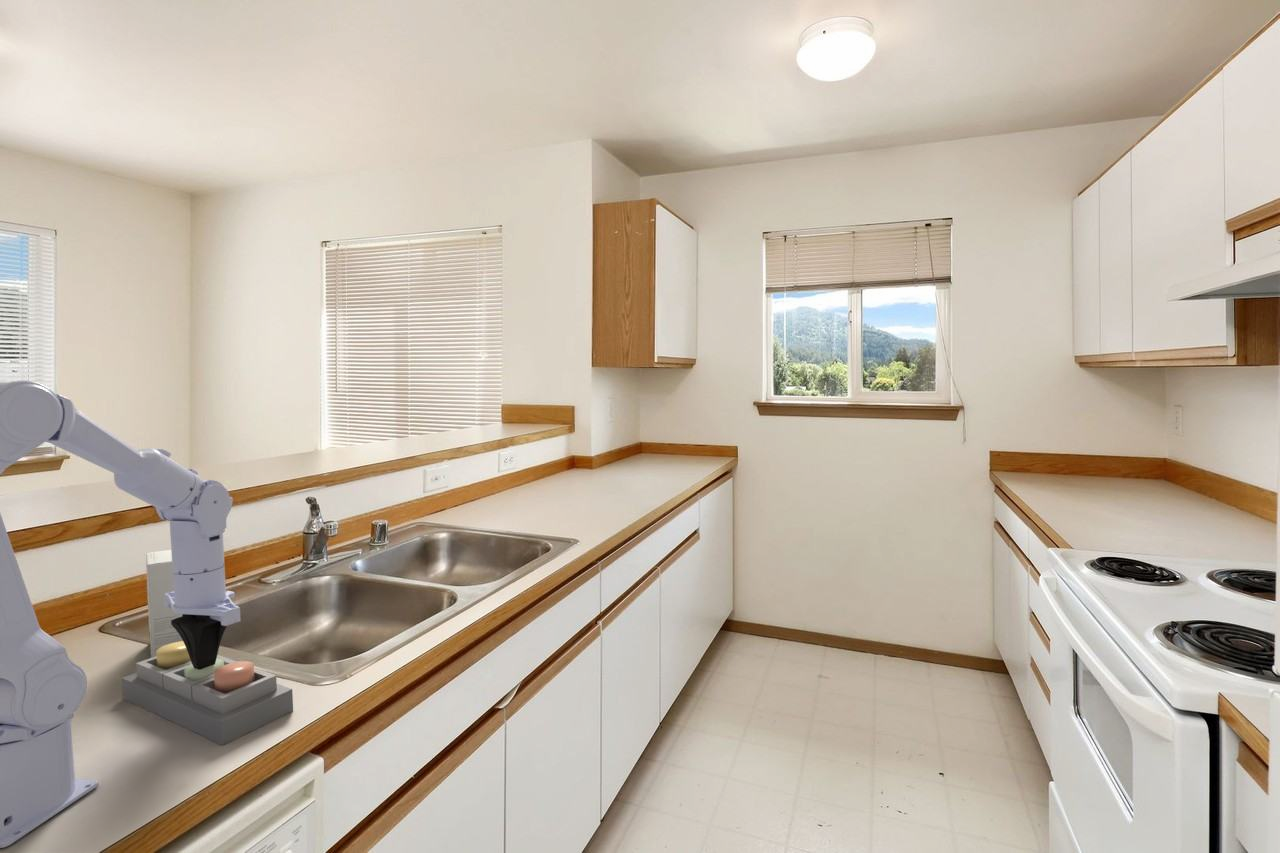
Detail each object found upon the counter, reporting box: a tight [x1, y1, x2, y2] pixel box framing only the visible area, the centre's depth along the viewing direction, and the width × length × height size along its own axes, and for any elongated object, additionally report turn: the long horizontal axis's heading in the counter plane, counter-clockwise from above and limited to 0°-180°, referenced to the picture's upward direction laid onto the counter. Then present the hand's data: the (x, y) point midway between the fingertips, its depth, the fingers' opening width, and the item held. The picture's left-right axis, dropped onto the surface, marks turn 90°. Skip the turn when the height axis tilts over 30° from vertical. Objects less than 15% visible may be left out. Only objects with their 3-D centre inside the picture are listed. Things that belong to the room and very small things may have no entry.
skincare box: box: [145, 549, 183, 658], centre depth 104 cm, size 8×7×16 cm
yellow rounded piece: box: [156, 641, 191, 668], centre depth 88 cm, size 4×4×2 cm
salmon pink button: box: [214, 660, 255, 692], centre depth 82 cm, size 4×4×2 cm
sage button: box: [184, 659, 224, 681], centre depth 85 cm, size 4×4×2 cm
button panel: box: [121, 654, 294, 746], centre depth 85 cm, size 24×9×5 cm, turn 62°
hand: (204, 666), depth 85 cm, fingers closed, pressing on sage button
